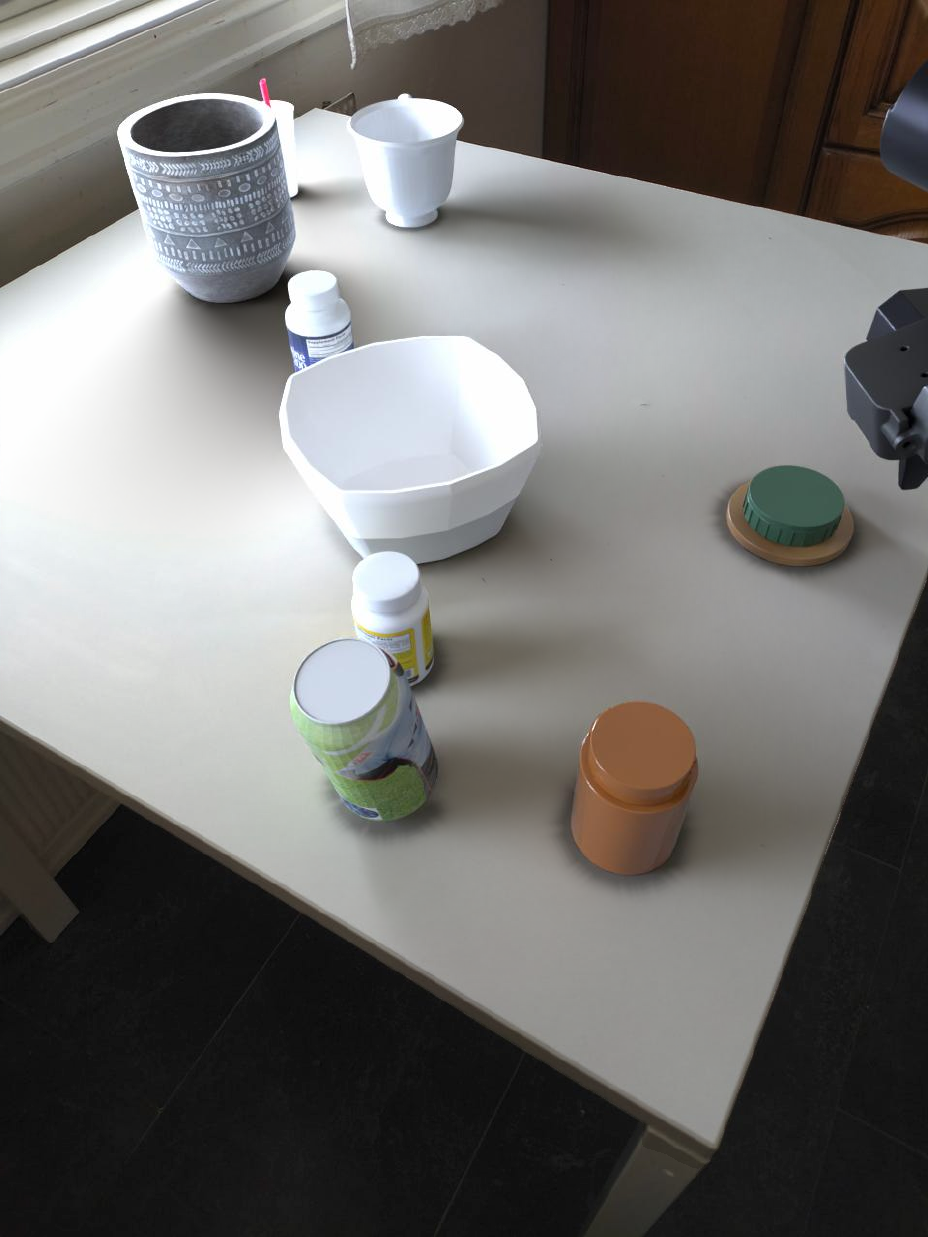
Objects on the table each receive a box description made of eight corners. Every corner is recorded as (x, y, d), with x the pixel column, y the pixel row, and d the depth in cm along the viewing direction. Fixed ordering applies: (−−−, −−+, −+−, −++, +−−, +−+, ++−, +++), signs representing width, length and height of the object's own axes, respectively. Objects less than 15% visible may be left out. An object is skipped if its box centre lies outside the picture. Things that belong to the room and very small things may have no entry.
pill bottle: (294, 372, 81) (275, 270, 74) (353, 363, 82) (339, 261, 75) (302, 407, 78) (283, 304, 70) (364, 397, 79) (350, 293, 71)
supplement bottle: (401, 623, 62) (390, 534, 55) (449, 661, 59) (444, 573, 53) (347, 662, 59) (329, 575, 53) (394, 704, 57) (382, 617, 51)
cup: (267, 206, 103) (246, 91, 94) (254, 187, 106) (232, 74, 97) (312, 196, 104) (295, 82, 95) (298, 178, 107) (280, 66, 98)
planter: (223, 332, 86) (182, 170, 74) (134, 283, 92) (84, 128, 81) (331, 272, 93) (309, 116, 81) (241, 231, 99) (209, 81, 88)
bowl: (483, 416, 76) (482, 315, 69) (571, 555, 65) (580, 452, 58) (277, 467, 73) (254, 366, 65) (334, 623, 62) (313, 522, 55)
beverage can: (460, 777, 54) (453, 651, 44) (373, 866, 50) (347, 749, 41) (384, 720, 56) (363, 591, 47) (297, 801, 53) (256, 678, 44)
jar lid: (734, 533, 65) (739, 513, 64) (751, 476, 69) (757, 455, 68) (830, 557, 64) (838, 537, 62) (843, 497, 68) (851, 476, 66)
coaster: (857, 499, 69) (861, 491, 68) (842, 580, 63) (845, 572, 63) (738, 472, 71) (741, 464, 70) (714, 547, 66) (716, 539, 65)
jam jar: (688, 799, 52) (716, 715, 46) (662, 891, 49) (688, 814, 42) (588, 766, 54) (602, 680, 47) (556, 853, 50) (566, 772, 44)
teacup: (461, 178, 106) (459, 85, 99) (468, 239, 97) (467, 140, 89) (359, 183, 106) (349, 90, 99) (356, 244, 96) (344, 146, 89)
